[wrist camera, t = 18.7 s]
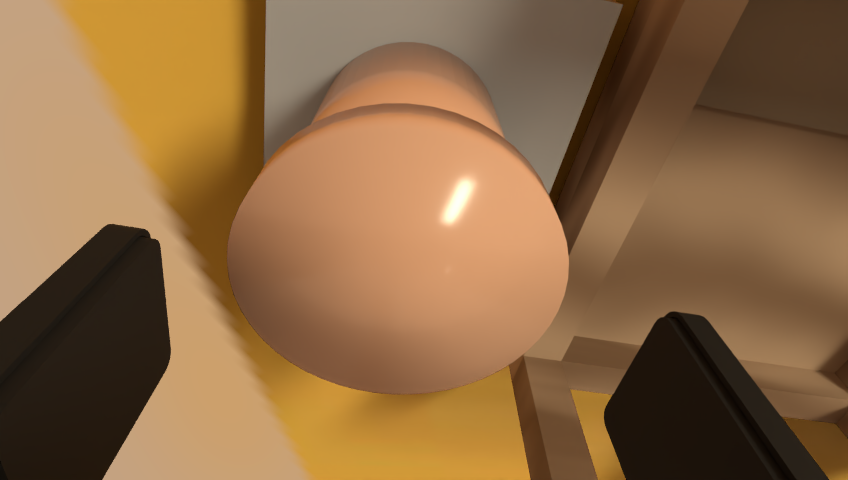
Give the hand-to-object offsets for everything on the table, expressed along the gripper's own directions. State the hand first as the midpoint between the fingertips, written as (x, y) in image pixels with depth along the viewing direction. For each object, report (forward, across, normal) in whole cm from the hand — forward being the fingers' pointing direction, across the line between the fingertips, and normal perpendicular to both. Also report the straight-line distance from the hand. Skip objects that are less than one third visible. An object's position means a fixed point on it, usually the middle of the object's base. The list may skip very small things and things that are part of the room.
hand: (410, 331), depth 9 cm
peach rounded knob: (+7, 0, -1) cm, 7 cm away
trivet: (+8, 0, -2) cm, 9 cm away
